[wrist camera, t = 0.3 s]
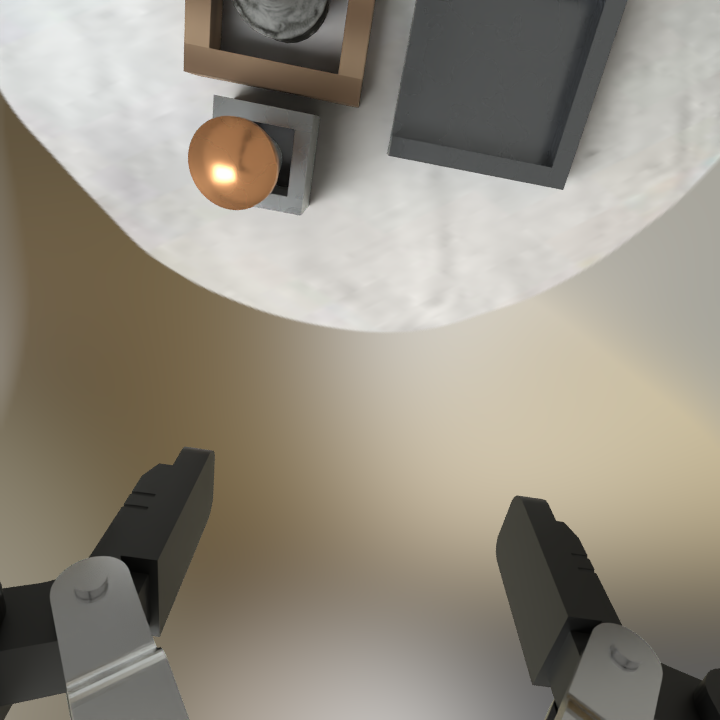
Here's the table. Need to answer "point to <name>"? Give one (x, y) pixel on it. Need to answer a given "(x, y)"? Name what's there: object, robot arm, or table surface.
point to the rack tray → (502, 84)
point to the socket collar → (277, 76)
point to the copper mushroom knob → (234, 162)
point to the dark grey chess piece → (283, 17)
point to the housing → (302, 155)
